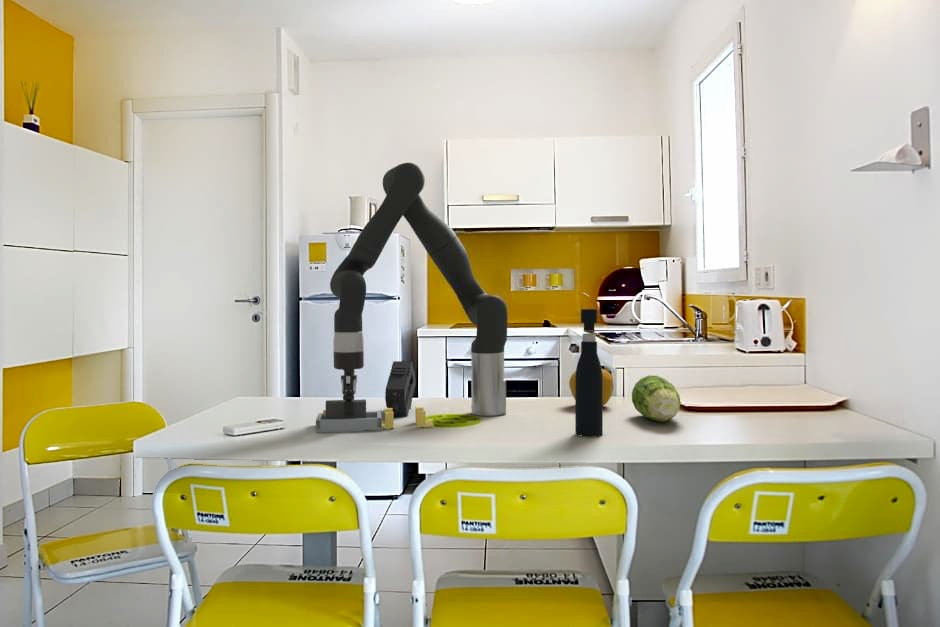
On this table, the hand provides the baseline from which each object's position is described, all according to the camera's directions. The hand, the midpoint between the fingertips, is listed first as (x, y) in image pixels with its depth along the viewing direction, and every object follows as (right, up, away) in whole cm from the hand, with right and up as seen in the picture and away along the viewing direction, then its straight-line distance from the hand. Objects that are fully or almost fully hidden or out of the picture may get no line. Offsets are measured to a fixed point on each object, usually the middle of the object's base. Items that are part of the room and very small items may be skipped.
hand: (349, 413), depth 178 cm
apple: (+66, -2, +30) cm, 73 cm away
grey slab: (-1, -3, 0) cm, 3 cm away
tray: (0, -4, 0) cm, 4 cm away
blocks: (+14, -3, +2) cm, 14 cm away
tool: (+11, -3, +20) cm, 24 cm away
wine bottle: (+59, -4, -10) cm, 60 cm away
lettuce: (+80, -3, +6) cm, 80 cm away
